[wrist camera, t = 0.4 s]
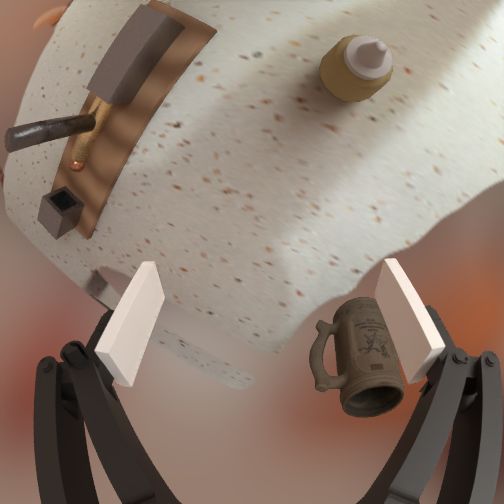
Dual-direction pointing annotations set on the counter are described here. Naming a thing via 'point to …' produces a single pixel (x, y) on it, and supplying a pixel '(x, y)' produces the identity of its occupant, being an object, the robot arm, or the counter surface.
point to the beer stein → (359, 359)
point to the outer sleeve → (134, 55)
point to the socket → (60, 211)
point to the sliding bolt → (63, 133)
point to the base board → (128, 122)
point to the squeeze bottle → (356, 68)
